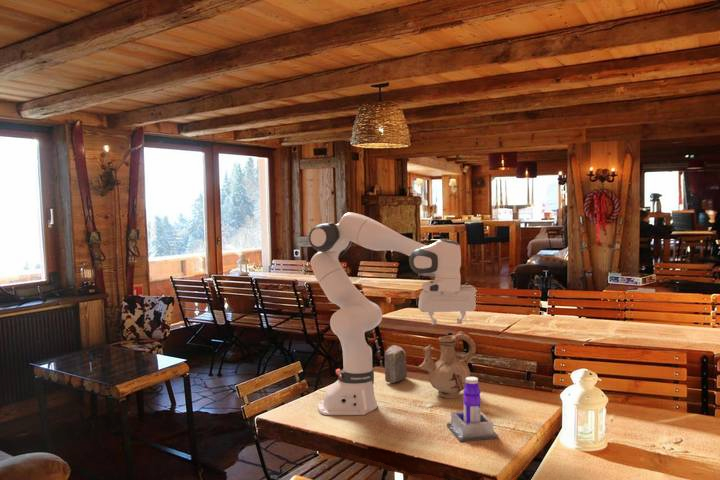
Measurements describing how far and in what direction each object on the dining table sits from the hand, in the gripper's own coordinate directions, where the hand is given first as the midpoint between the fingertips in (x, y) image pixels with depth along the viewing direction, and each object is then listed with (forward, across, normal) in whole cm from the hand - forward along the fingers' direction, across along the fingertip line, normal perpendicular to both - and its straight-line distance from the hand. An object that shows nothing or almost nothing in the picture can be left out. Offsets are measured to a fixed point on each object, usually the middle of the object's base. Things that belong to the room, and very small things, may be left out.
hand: (446, 323), depth 195 cm
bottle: (+33, -5, +15) cm, 36 cm away
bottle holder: (+33, -5, +14) cm, 37 cm away
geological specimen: (+35, +8, -45) cm, 58 cm away
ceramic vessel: (+34, -8, -24) cm, 43 cm away
